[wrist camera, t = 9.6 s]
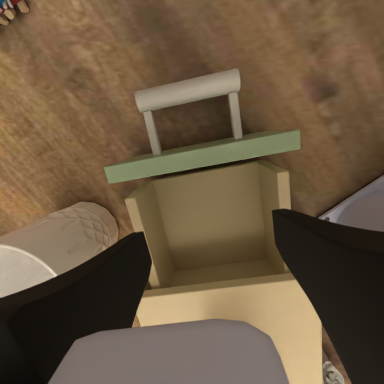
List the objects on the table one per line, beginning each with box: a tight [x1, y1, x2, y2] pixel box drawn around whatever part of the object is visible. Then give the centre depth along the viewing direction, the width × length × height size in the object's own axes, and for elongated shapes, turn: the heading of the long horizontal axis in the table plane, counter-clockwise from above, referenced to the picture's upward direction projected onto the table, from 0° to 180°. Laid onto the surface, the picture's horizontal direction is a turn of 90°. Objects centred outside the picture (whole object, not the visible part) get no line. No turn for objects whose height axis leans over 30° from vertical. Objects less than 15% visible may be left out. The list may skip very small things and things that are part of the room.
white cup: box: [0, 202, 119, 298], centre depth 18 cm, size 8×8×10 cm
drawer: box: [104, 68, 300, 289], centre depth 17 cm, size 18×13×6 cm
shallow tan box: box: [136, 273, 323, 384], centre depth 21 cm, size 15×14×8 cm
